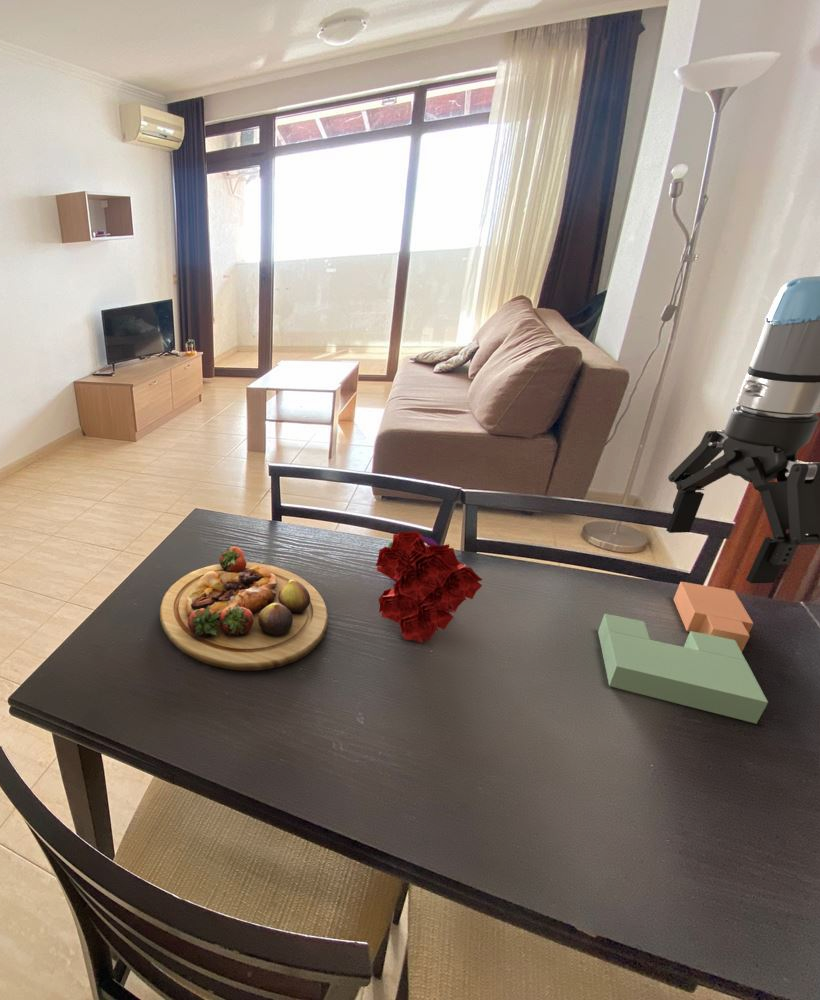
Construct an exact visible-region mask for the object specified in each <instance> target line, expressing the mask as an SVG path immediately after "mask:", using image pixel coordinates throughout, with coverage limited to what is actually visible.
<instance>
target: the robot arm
mask: <svg viewBox="0 0 820 1000" xmlns="http://www.w3.org/2000/svg"><path fill="white" fill-rule="evenodd" d="M741 384H742V385H741V386H740V389H739V391H738V395H737V397H736V400H735V402H736V404H737V405H738V406H735V407H733V408H732V410H731V411H730V414H729V417H728V420H727V422H726V425H725V427H724V429H721V430H718V429H717V430H707V431H706V432H705V433H704V435H703V436H702V439H701V441H700V443H699V444H698V445H697V446H696V448H694V449H693V450H692V451H691V452H690V454H689V455H688V456H686V458H685V459H684V460H683V461H682V462H680V464H678V466H677V467H676V468H675V469H674V470H673V471H672V472H671V473H670V474H669V475H668V477H667V479H668V481H669V482H670V483H674V484H675V485H676V486H675V488H676V490H677V492H676V495H675V499H674V501H673V504H672V509H673V510H672V513H671V516H670V519H669V521H668V524H667V527H666V530H665V531H666V532H668V533H669V534H676V533H678V534H679V533H680V534H681V533H690V532H691V530H692V526H693V524H694V521H695V519H696V516H697V514H698V512H699V509H700V506H701V504H702V501H703V499H704V496H705V493H703V492H701V491H704V490H705V487H707V486H708V485H711V484H712V483H714V482H716V481H718V480H720V479H722V478H724V477H726V476H728V475H732V476H735V477H740V478H742V479H743V480H744V481H745V482H748V483H752V486H753V487H752V488H754V490H756V491H758V493H759V494H760V498H761V501H762V504H763V508H764V511H765V514H766V517H767V521H768V523H769V527H770V530H771V533H772V536H766V537H765V536H764V539H763V541H762V544H761V545H760V548H759V550H758V553H757V554H756V557H755V559H754V561H753V563H752V566H751V567H750V570H749V571H748V575H747V576H746V578H745V581H746V582H748V583H750V584H775V582H776V580H777V578H778V576H779V574H780V572H781V569H782V568H783V566H787V565H789V564H790V563H791V561H792V558H793V557H794V555H795V553H796V551H797V549H798V547H799V546H812V545H815V546H817V545H820V462H805V461H803V460H798V452H799V451H800V450H801V449H802V448H803V447H804V446H805V445H807V444H809V443H810V441H811V439H812V437H813V435H814V432H815V430H816V428H817V426H818V424H819V422H820V417H819V415H818V414H819V413H820V275H817V276H816V275H815V276H805V277H804V276H803V277H799V278H794V279H791V280H788V282H786V283H784V285H783V286H782V287H781V288H780V290H779V291H778V293H777V295H776V297H775V298H774V300H773V302H772V305H771V307H770V309H769V311H768V313H767V315H766V316H765V317H764V325H763V328H762V331H761V334H760V337H759V340H758V342H757V345H756V348H755V350H754V353H753V355H752V359H751V361H750V363H749V366H748V369H747V371H746V373H745V377H744V379H743V381H742V383H741ZM722 452H723V455H721V456H719V457H718V458H717V456H718V455H719V454H721V453H722ZM715 458H716V459H715ZM775 479H776V481H773V480H775ZM787 530H788V531H789V532H788V531H787Z"/></svg>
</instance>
